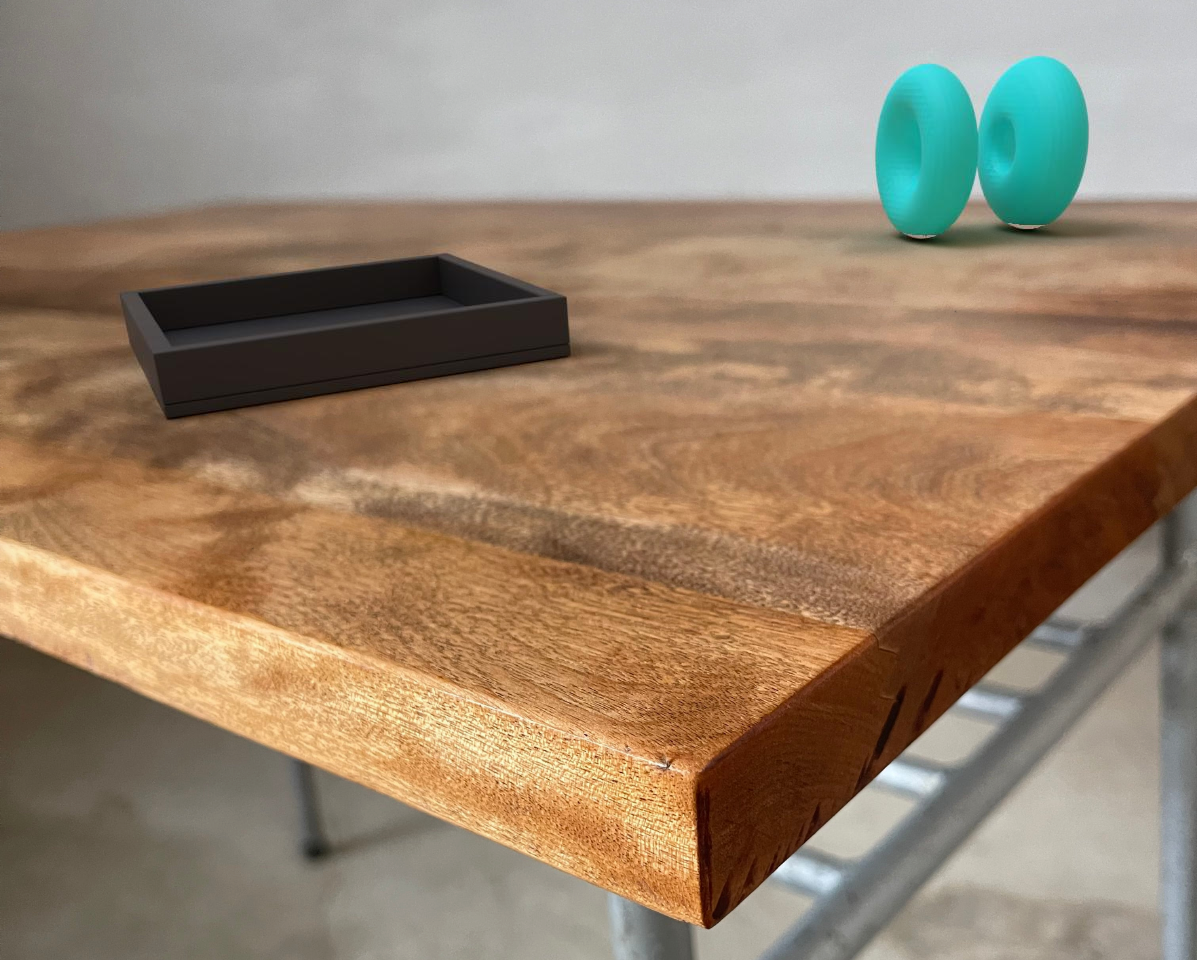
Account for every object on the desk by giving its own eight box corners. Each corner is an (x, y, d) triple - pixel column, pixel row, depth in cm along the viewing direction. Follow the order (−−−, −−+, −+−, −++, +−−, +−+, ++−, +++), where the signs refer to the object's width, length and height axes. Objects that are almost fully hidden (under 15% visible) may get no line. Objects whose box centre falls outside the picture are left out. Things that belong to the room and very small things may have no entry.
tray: (129, 343, 61) (118, 292, 60) (452, 300, 66) (447, 252, 65) (166, 419, 47) (152, 353, 46) (571, 355, 52) (567, 296, 51)
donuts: (865, 231, 81) (870, 65, 77) (1008, 219, 82) (1020, 55, 78) (930, 251, 72) (939, 64, 68) (1089, 236, 73) (1107, 53, 69)
